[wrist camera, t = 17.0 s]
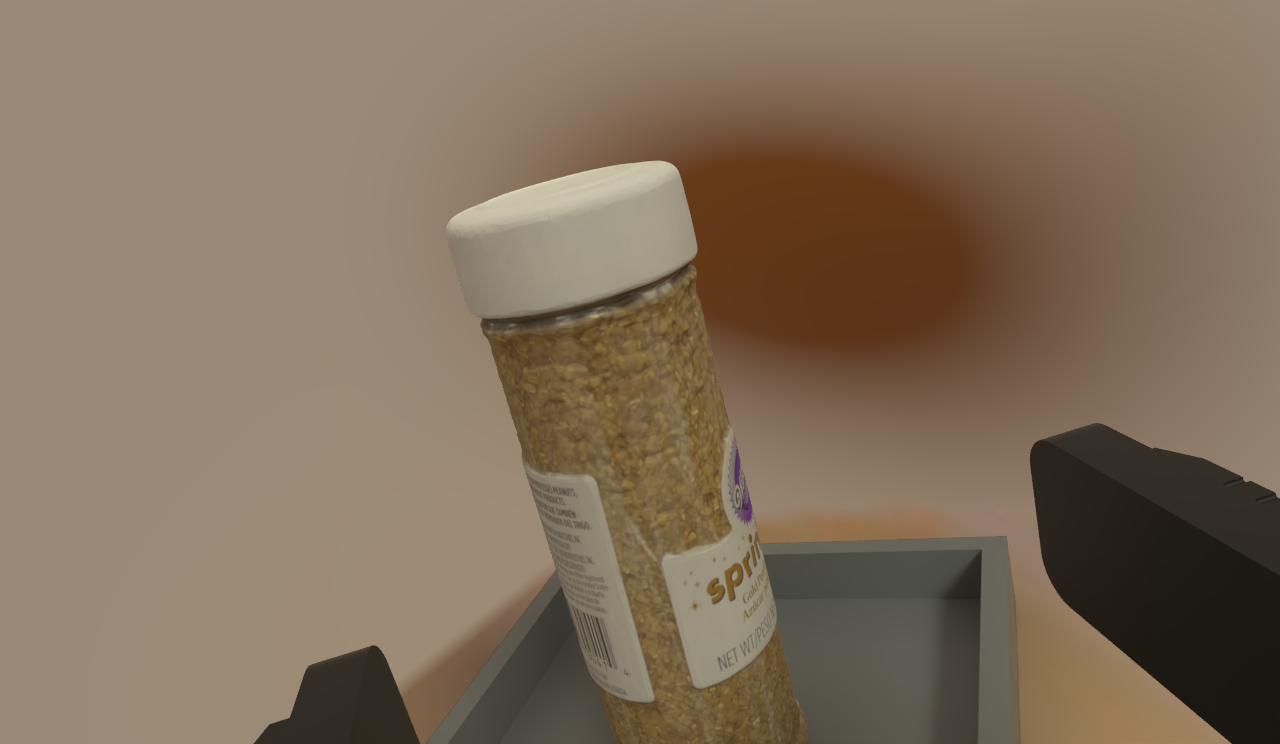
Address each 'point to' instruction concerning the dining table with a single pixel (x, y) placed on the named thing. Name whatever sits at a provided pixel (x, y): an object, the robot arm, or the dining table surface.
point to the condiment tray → (805, 651)
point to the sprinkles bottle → (631, 451)
